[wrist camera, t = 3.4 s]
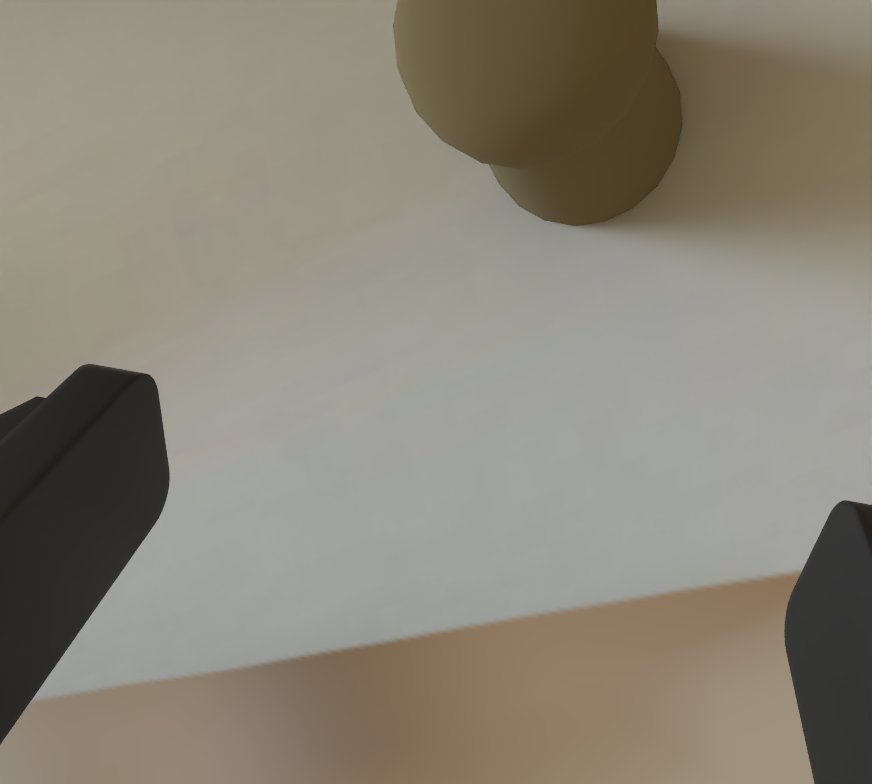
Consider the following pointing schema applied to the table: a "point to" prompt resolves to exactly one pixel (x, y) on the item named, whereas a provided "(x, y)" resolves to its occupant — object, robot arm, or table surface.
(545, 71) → the cork
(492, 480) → the table surface
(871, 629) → the robot arm
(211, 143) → the table surface
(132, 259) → the table surface
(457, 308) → the table surface
